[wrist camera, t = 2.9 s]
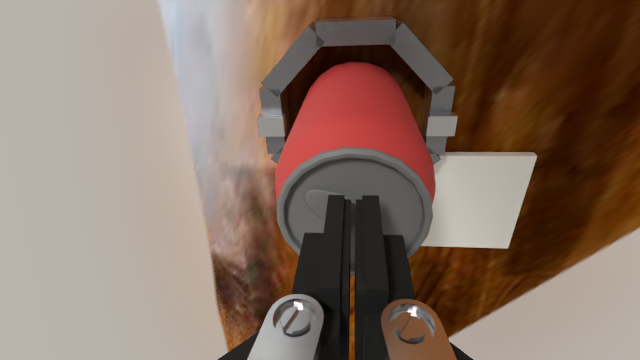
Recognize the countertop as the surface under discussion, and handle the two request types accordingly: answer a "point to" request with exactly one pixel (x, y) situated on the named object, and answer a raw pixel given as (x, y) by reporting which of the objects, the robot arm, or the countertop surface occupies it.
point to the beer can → (355, 157)
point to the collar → (359, 32)
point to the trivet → (478, 198)
